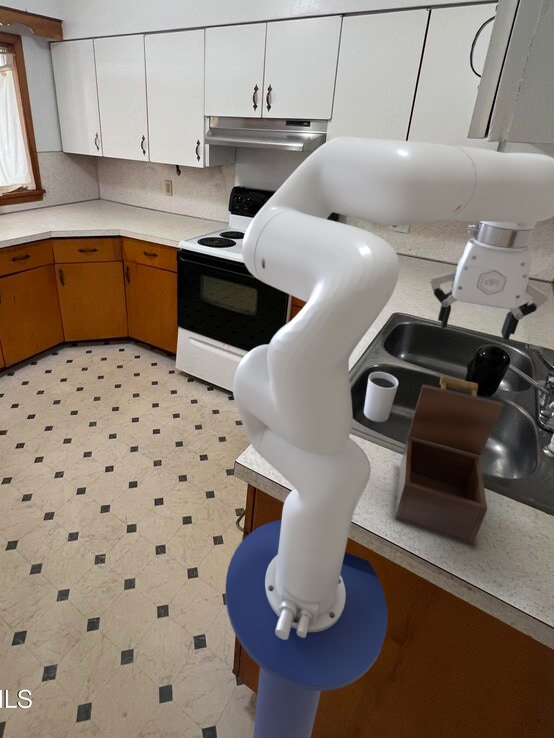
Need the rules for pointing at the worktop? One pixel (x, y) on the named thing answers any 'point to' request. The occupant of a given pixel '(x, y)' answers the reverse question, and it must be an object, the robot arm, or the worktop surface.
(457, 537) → the chest
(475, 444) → the lid
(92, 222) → the worktop surface
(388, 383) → the white cup
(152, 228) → the worktop surface
